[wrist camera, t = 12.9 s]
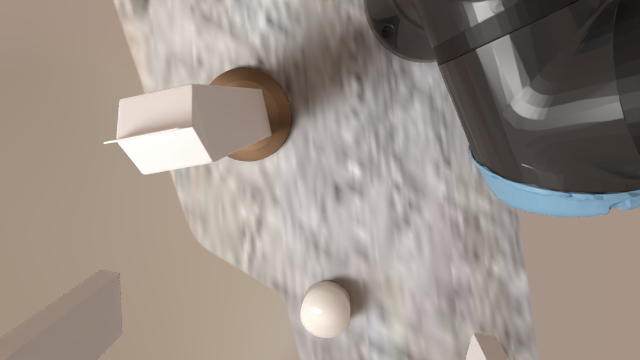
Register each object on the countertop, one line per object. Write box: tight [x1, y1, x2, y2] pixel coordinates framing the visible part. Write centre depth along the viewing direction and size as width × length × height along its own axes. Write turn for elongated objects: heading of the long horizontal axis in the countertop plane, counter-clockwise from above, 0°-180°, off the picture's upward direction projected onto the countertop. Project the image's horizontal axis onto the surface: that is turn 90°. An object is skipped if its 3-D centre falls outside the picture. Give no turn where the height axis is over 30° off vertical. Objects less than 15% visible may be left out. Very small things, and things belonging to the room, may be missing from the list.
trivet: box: [210, 68, 291, 161], centre depth 44 cm, size 12×12×1 cm
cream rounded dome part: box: [301, 281, 350, 338], centre depth 48 cm, size 7×7×4 cm
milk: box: [104, 84, 272, 174], centre depth 33 cm, size 6×6×22 cm
